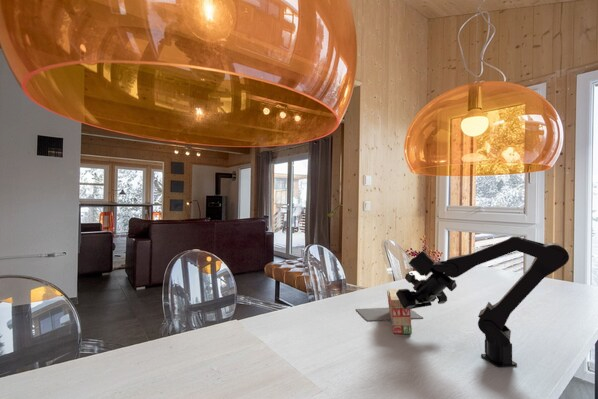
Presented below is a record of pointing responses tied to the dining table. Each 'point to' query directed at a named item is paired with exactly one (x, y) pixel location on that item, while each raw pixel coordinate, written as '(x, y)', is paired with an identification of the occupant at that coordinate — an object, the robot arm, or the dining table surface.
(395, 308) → the stack of blocks
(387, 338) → the dining table surface
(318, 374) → the dining table surface
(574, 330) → the dining table surface
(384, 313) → the mat
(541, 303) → the dining table surface
